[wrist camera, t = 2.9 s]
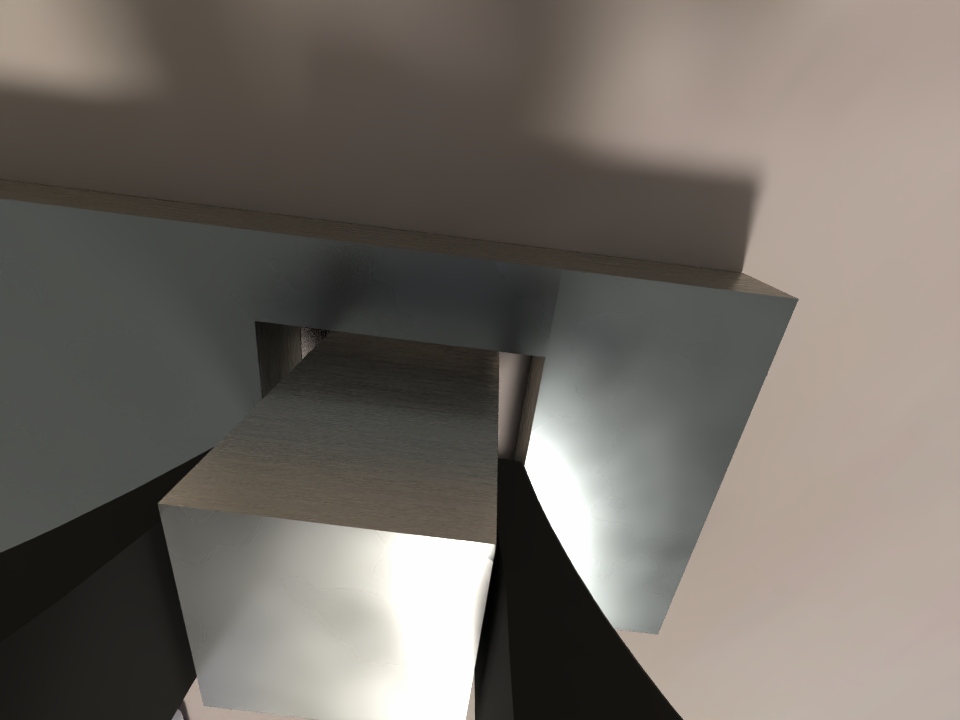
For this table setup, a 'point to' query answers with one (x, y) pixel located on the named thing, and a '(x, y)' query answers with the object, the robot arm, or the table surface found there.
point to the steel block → (345, 536)
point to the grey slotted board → (378, 312)
